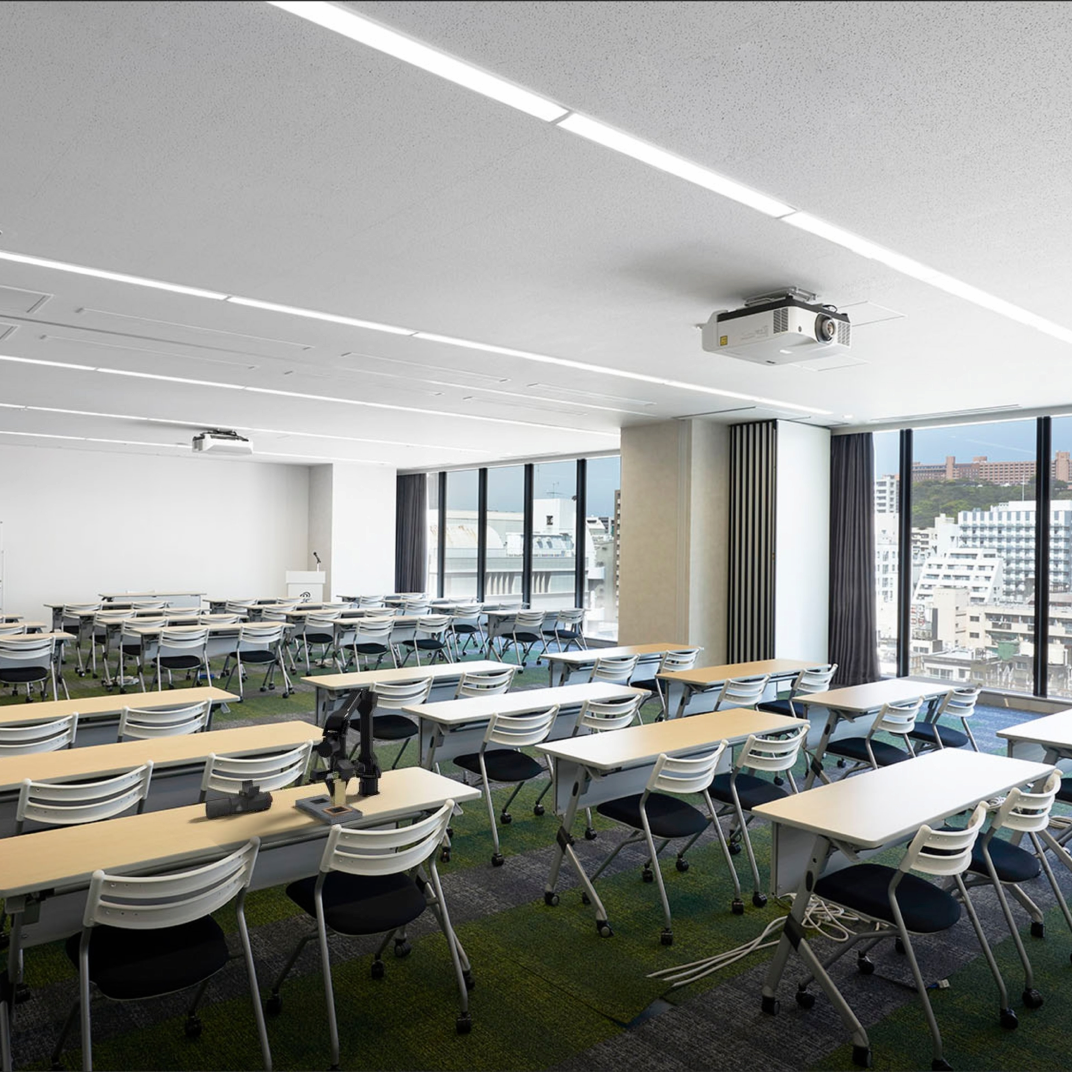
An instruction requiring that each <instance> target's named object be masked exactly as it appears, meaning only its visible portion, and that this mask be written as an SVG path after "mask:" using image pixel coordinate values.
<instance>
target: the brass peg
mask: <svg viewBox="0 0 1072 1072" xmlns="http://www.w3.org/2000/svg"><path fill="white" fill-rule="evenodd" d="M346 791H347V788H346V781H344V780H342V779H341V778H338V779H334V782H333V797H331V795H330V794H329V796H330V804H331V805H333V806H339V805H344V804H346V795H347V794H346Z"/></svg>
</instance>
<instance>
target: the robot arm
mask: <svg viewBox="0 0 1072 1072" xmlns="http://www.w3.org/2000/svg"><path fill="white" fill-rule="evenodd" d="M378 701H379V695H378V693H376V691H373V690H366V689H364V688H355V687H354V688H351V689H350V691H349V694H348V696H347V697H346V698H345V699H344V701H343V703H342V704H341V706H340V707H339V708H338V709H337V710H334V711H332V713H330V714H329V716H328V717H327V719H326V721H325V724H324V727H323V730H322V734H321V737H322V741H321V742H319V743H318V745H317V748H316V750H317V751H316V752H317V754H318V755H319V757H321V758H324V759H327V758H328V759H329V760H328V761H329V764H327V768H328V769H324V768H322V767H321V768H320V767H319V768H313V769H311V770H310V771H309V778H310V779H311V780H314V781H315V782H316V781H317V782H319V781H323V783H324V784H325V786H326V789H327V790H328V793H329V796H330V795H331V797H333V782H334V780H335V778H334V777H333V775H337V774H339V776H340V779H342V780H344V781H346V789H347V788H348V785H349V783H350V781H351V779H352V778H353V777H355V778H356V779H359V782H358V791H357V794H359V795H361V796H363V797H369V796H370V797H371V796H375V795H379V794H381V792H380V791H379V779H381V778H382V776H383V775H382V774H383V770H382V767H381V766H380V764H379V761H378V760H379V759H378V756H377V755H376V753H375V752H374V720H373V719H374V718H373V717H374V712H375V710H376V709H377V708H378ZM355 711H357V712H358V714H359V738H360V739H359V742H360V743H359V744H360V745H359V748H360V752H359V754H358V756H357V757H356V758H355V759H352V760H350V759H349V754H348V753H347V736H348V735H349V733H348V731H349V729H350V726H351V717H352V715H353V714H354V712H355ZM354 772H355V773H354Z"/></svg>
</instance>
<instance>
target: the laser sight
mask: <svg viewBox="0 0 1072 1072" xmlns="http://www.w3.org/2000/svg"><path fill="white" fill-rule="evenodd" d="M241 787H242V788H241V789H240V790H238V794H237V795H230V796H228V798H222V799H215V800H209V801H208V800H207V801H206V802H205V806H204V807H205V808H204V809H205V816H206V818H207V819H211V818H216V817H222V816H227V815H228V816H235V815H241V814H247V813H254V812H259V811H264V809H270V808H272V803H273V802H274V799H273V798H274V797H273V795H272V794H271V792H270V791H264V792H263V791H260V790H261V789H260V788H261V785H259V784H258V785H254V783H253V779H247V780H246V779H245V780H242V781H241Z"/></svg>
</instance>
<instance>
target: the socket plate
mask: <svg viewBox="0 0 1072 1072" xmlns="http://www.w3.org/2000/svg"><path fill="white" fill-rule="evenodd" d="M294 805H295V807H297V808H299V809H300V810H303V811H304V812H307V813H308V814H310V815H312V816H314V817H316V818H318V819H319V820H321V821H323V822H324V823H326V824H328V825H330V826H332V825H333V826H334V825H336V824H335V823H338V824H341V823H346V822H350V821H354V820H359V819H363V818H364V817H363V814H364V812H363V811H361V810H359V809H357V808H356V807H353V806H351V805H349V804H347V803H345V804H344V805H339V806H333V805H331V804H330V794H327V793H323V794H318V795H314V796H309V797H304V798H298V799H295V804H294Z"/></svg>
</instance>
